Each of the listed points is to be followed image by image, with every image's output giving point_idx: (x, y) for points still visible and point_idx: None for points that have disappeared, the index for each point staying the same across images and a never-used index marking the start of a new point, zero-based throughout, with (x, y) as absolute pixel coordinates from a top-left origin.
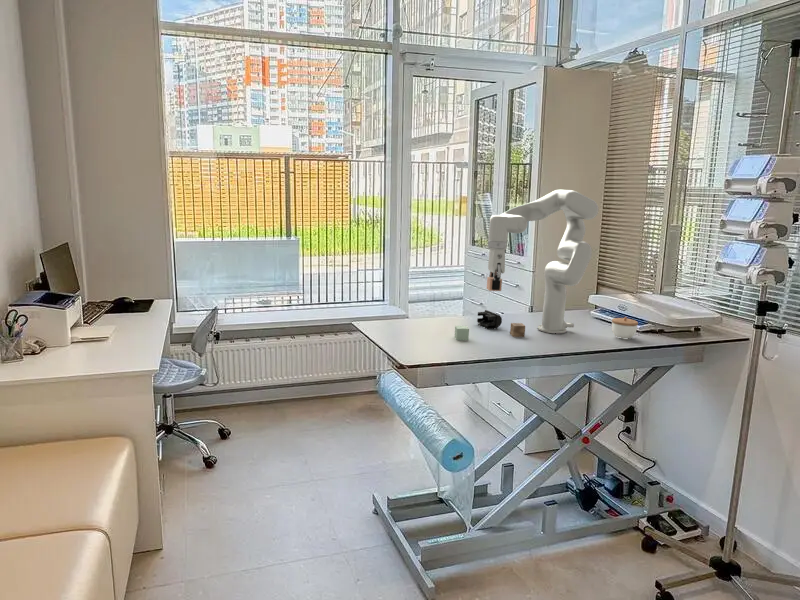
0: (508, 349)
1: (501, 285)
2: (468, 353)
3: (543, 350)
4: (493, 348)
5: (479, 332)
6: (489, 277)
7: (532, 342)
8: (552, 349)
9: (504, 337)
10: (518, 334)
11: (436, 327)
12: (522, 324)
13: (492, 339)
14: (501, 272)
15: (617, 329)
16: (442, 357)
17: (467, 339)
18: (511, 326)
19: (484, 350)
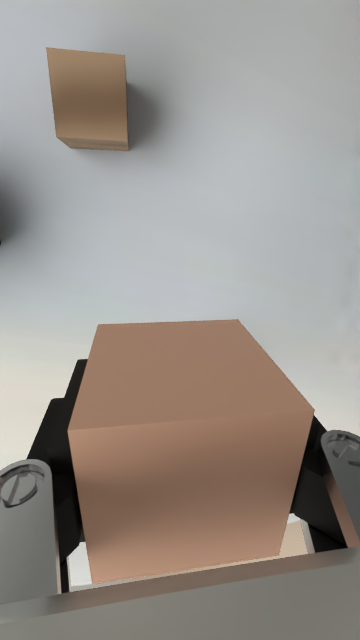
0: (314, 236)
1: (262, 351)
2: (333, 372)
3: (350, 74)
4: (296, 289)
5: (73, 295)
6: (152, 563)
7: (224, 75)
8: (344, 8)
9: (144, 201)
10: (127, 117)
11: (29, 435)
12: (82, 60)
13: (180, 265)
14: (300, 557)
15: None
16: (352, 432)
17: None
18: (77, 141)
19: (313, 323)
